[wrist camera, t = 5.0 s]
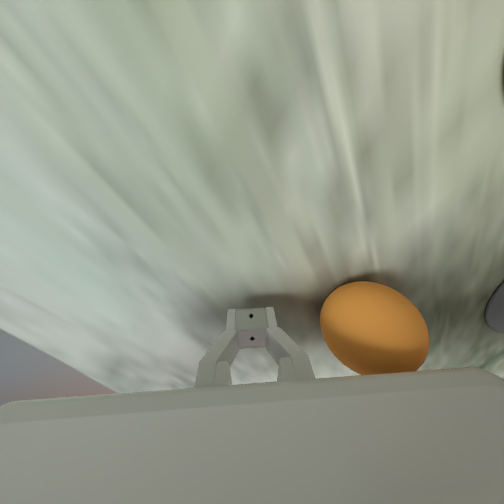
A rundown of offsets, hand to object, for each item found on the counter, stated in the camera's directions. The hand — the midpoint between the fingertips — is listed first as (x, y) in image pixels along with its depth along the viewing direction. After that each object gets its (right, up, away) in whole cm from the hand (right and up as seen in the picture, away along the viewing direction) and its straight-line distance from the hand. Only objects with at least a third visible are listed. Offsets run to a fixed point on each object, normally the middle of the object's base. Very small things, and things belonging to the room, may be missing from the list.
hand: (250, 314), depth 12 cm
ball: (+7, 0, -1) cm, 7 cm away
